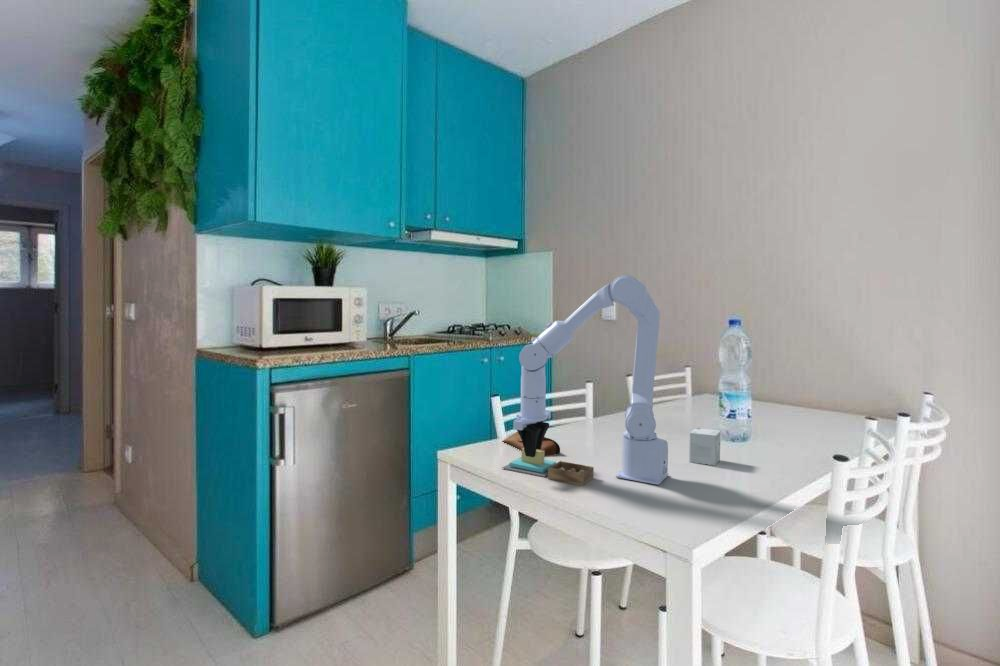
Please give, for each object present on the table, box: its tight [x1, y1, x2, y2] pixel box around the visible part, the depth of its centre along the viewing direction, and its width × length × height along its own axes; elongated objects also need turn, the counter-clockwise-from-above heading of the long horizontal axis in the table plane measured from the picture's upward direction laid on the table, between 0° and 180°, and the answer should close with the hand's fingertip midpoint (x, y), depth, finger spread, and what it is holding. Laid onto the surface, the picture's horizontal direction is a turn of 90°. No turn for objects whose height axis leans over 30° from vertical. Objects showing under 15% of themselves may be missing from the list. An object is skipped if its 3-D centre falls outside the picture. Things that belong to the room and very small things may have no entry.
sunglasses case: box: [501, 431, 561, 457], centre depth 140 cm, size 18×7×7 cm, turn 28°
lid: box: [508, 448, 557, 473], centre depth 122 cm, size 9×7×4 cm
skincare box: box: [688, 427, 721, 467], centre depth 129 cm, size 6×6×7 cm
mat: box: [501, 463, 548, 478], centre depth 122 cm, size 11×9×1 cm
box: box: [547, 460, 595, 486], centre depth 115 cm, size 8×6×2 cm
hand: (532, 455), depth 122 cm, fingers closed on lid, 2 cm apart
